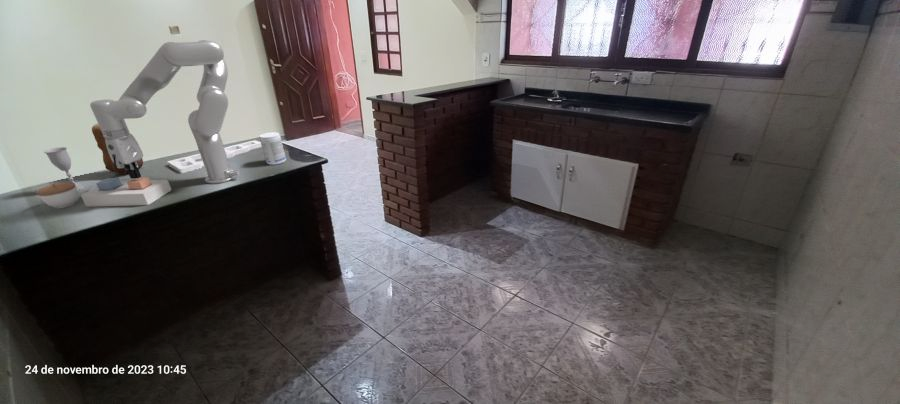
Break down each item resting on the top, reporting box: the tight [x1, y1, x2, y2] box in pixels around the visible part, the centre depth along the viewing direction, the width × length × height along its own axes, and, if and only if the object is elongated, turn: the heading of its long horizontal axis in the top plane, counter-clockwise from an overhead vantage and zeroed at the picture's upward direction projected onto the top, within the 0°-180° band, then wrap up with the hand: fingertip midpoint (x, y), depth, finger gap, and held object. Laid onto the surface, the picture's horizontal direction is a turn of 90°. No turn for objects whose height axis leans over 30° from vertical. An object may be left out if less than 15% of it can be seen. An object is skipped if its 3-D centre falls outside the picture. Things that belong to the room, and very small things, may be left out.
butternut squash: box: [91, 122, 144, 175], centre depth 166 cm, size 14×13×25 cm
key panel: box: [80, 179, 172, 207], centre depth 145 cm, size 24×14×5 cm, turn 92°
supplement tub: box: [259, 131, 287, 166], centre depth 180 cm, size 10×10×15 cm
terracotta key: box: [127, 177, 151, 189], centre depth 144 cm, size 5×5×3 cm
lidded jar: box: [36, 181, 80, 209], centre depth 139 cm, size 11×11×9 cm
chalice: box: [43, 146, 85, 191], centre depth 151 cm, size 7×7×18 cm
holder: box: [167, 140, 262, 174], centre depth 191 cm, size 45×18×3 cm, turn 142°
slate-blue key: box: [95, 177, 122, 190], centre depth 143 cm, size 5×5×3 cm
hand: (136, 177), depth 142 cm, fingers closed
